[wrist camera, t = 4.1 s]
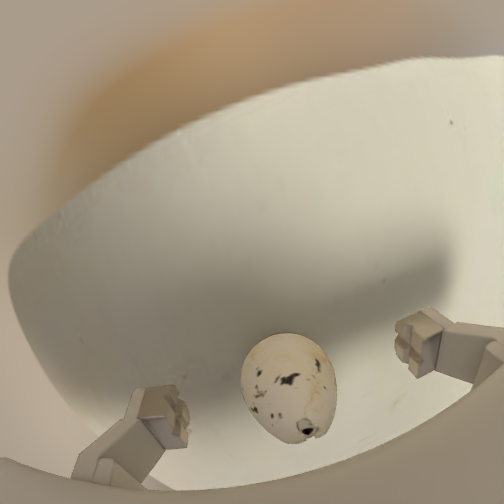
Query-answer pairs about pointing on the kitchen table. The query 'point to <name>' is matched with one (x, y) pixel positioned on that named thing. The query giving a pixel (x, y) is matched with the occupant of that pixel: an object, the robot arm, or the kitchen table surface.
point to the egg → (290, 387)
